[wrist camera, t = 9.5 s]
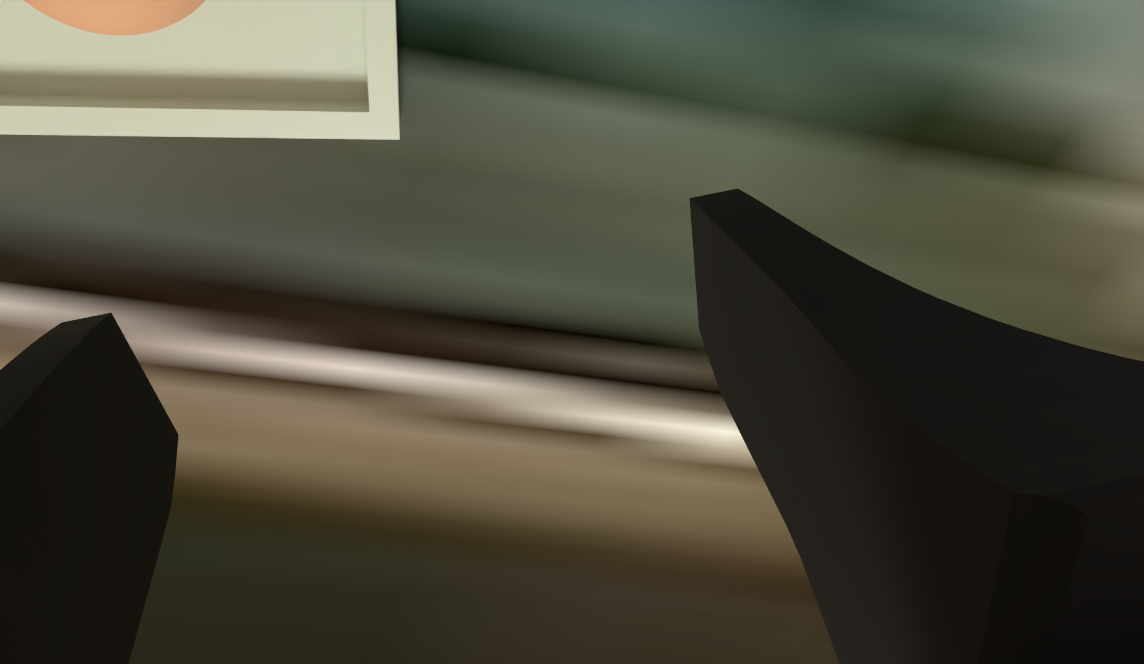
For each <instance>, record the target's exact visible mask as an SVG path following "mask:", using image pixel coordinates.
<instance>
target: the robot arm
mask: <svg viewBox="0 0 1144 664" xmlns="http://www.w3.org/2000/svg"><path fill="white" fill-rule="evenodd" d="M690 209H691V223H692V237H693V250H694V264H695V278H696V291H697V305H698V319H699V330H700V333H701V336H702V339H703V342H704V345H705V348H706V351H707V354H708V357H709V360H710V364H711V366H712V369H713V372H714V375H715V378H716V381H717V384H718V387H719V389H720V392H721V394H722V397H723V399H724V401H725V403H726V405H727V407H728V409H729V411H730V413H731V415H732V417H733V419H734V421H735V423H736V425H737V427H738V429H739V431H740V433H741V435H742V437H743V439H744V441H745V443H746V445H747V447H748V449H749V451H750V453H751V455H752V457H753V459H754V461H755V463H756V465H757V467H758V469H759V471H760V473H761V475H762V477H763V479H764V481H765V483H766V485H767V487H768V489H769V491H770V493H771V495H772V497H773V499H774V501H775V503H776V505H777V507H778V509H779V511H780V513H781V515H782V517H783V519H784V521H785V523H786V525H787V528H788V530H789V532H790V534H791V537H792V539H793V541H794V543H795V546H796V548H797V550H798V552H799V555H800V557H801V560H802V562H803V565H804V568H805V570H806V573H807V576H808V578H809V581H810V584H811V587H812V589H813V592H814V595H815V597H816V600H817V603H818V606H819V608H820V611H821V614H822V616H823V619H824V622H825V625H826V627H827V630H828V633H829V636H830V639H831V641H832V644H833V647H834V650H835V653H836V656H837V659H838V661H839V664H1144V362H1143V361H1138V360H1134V359H1129V358H1124V357H1120V356H1116V355H1112V354H1108V353H1104V352H1100V351H1096V350H1092V349H1088V348H1084V347H1081V346H1077V345H1073V344H1070V343H1067V342H1063V341H1060V340H1057V339H1053V338H1050V337H1046V336H1043V335H1040V334H1036V333H1033V332H1030V331H1026V330H1023V329H1020V328H1017V327H1014V326H1011V325H1008V324H1005V323H1002V322H999V321H996V320H993V319H990V318H987V317H985V316H982V315H980V314H977V313H974V312H972V311H969V310H967V309H964V308H962V307H959V306H956V305H954V304H951V303H949V302H946V301H944V300H941V299H938V298H936V297H934V296H932V295H929V294H927V293H925V292H922V291H920V290H918V289H916V288H913V287H911V286H909V285H907V284H905V283H903V282H901V281H899V280H897V279H895V278H893V277H891V276H889V275H887V274H885V273H883V272H881V271H878V270H876V269H874V268H872V267H870V266H869V265H867V264H865V263H863V262H861V261H859V260H857V259H855V258H854V257H852V256H850V255H848V254H846V253H844V252H843V251H841V250H839V249H837V248H835V247H834V246H832V245H830V244H829V243H827V242H825V241H823V240H822V239H820V238H818V237H817V236H815V235H813V234H812V233H810V232H808V231H807V230H805V229H803V228H802V227H800V226H798V225H797V224H795V223H793V222H792V221H790V220H789V219H787V218H785V217H784V216H782V215H781V214H779V213H777V212H776V211H774V210H773V209H771V208H769V207H768V206H766V205H765V204H763V203H761V202H760V201H758V200H756V199H755V198H753V197H752V196H750V195H748V194H746V193H745V192H743V191H741V190H739V189H734V190H729V191H724V192H719V193H714V194H709V195H704V196H699V197H694V198H690ZM177 445H178V433H177V431H176V429H175V428H174V426H173V424H172V422H171V420H170V419H169V417H168V415H167V413H166V411H165V409H164V408H163V406H162V404H161V402H160V400H159V399H158V397H157V395H156V393H155V391H154V389H153V388H152V386H151V384H150V382H149V380H148V379H147V377H146V375H145V373H144V371H143V369H142V368H141V366H140V364H139V362H138V360H137V359H136V357H135V355H134V353H133V351H132V349H131V348H130V346H129V344H128V342H127V340H126V339H125V337H124V335H123V333H122V331H121V329H120V328H119V326H118V324H117V322H116V320H115V318H114V317H113V315H112V313H108V314H103V315H98V316H93V317H88V318H83V319H77V320H72V321H67V322H62V323H60V324H59V325H57V326H56V327H54V328H53V329H51V330H50V331H48V332H47V333H46V334H44V335H43V336H42V337H40V338H39V339H38V340H36V341H35V342H34V343H33V344H31V345H30V346H29V347H28V348H26V349H25V350H24V351H23V352H21V353H20V354H19V355H18V356H17V357H15V358H14V359H13V360H12V361H11V362H9V363H8V364H7V365H6V366H5V367H3V368H2V369H1V370H0V664H128V663H129V659H130V656H131V652H132V648H133V645H134V641H135V638H136V634H137V630H138V627H139V623H140V619H141V616H142V612H143V609H144V605H145V601H146V598H147V594H148V590H149V587H150V583H151V580H152V576H153V572H154V569H155V565H156V561H157V558H158V554H159V550H160V546H161V542H162V539H163V535H164V531H165V527H166V524H167V519H168V515H169V511H170V507H171V502H172V494H173V486H174V478H175V469H176V457H177Z"/></svg>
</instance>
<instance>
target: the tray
mask: <svg viewBox="0 0 1144 664" xmlns="http://www.w3.org/2000/svg"><path fill="white" fill-rule="evenodd" d="M0 134H17V135H93V136H168V137H243V138H318V139H393V140H400V112H399V80H398V48H397V16H396V0H205V1H204V3H203V4H202V5H200V6H199V7H198V8H197V9H196V10H195V11H194V12H193V13H191V14H190V15H188V16H187V17H185V18H184V19H182V20H181V21H178V22H176V23H174V24H172V25H170V26H168V27H165V28H163V29H160V30H157V31H153V32H150V33H144V34H137V35H106V34H97V33H93V32H88V31H83V30H80V29H77V28H74V27H71V26H68V25H66V24H63V23H61V22H59V21H57V20H54V19H52V18H50V17H49V16H47V15H45V14H43V13H42V12H40V11H38V10H37V9H35V8H34V7H32V6H31V5H30V4H28V3H27V2H25V1H24V0H0Z"/></svg>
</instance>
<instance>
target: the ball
mask: <svg viewBox="0 0 1144 664" xmlns="http://www.w3.org/2000/svg"><path fill="white" fill-rule="evenodd" d="M24 1H25V2H27V3H28V4H30V5H31V6H32V7H34V8H35V9H37V10H38V11H40V12H42V13H43V14H45V15H47V16H49V17H50V18H52V19H54V20H57V21H59V22H61V23H63V24H66V25H68V26H71V27H74V28H77V29H80V30H83V31H88V32H93V33H97V34H106V35H137V34H144V33H150V32H153V31H157V30H160V29H163V28H165V27H168V26H170V25H172V24H174V23H176V22H178V21H181V20H182V19H184V18H185V17H187V16H188V15H190V14H191V13H193V12H194V11H195V10H196V9H197V8H198V7H199V6H200V5H202V4H203V3H204V1H205V0H24Z"/></svg>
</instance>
